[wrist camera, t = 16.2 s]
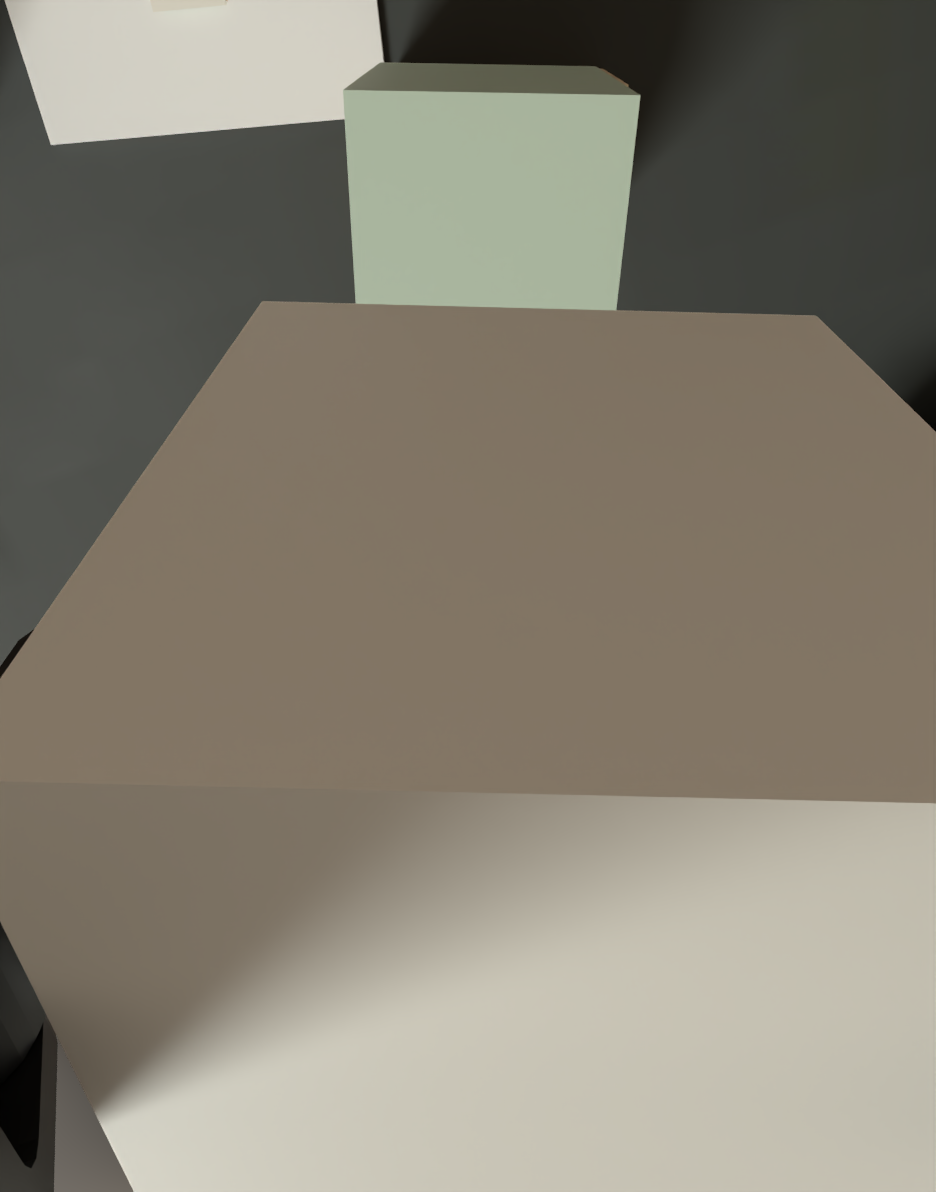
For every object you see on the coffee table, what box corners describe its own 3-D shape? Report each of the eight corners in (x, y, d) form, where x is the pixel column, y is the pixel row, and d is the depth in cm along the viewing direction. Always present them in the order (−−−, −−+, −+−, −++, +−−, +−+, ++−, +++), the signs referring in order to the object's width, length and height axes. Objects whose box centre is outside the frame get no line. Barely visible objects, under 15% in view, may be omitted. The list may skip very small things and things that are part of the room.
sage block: (388, 284, 27) (360, 376, 21) (379, 62, 24) (343, 90, 17) (576, 287, 27) (607, 381, 21) (596, 66, 24) (640, 94, 17)
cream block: (304, 666, 14) (157, 1237, 8) (261, 301, 11) (-73, 780, 4) (723, 676, 14) (928, 1253, 8) (816, 315, 11) (1329, 813, 4)
